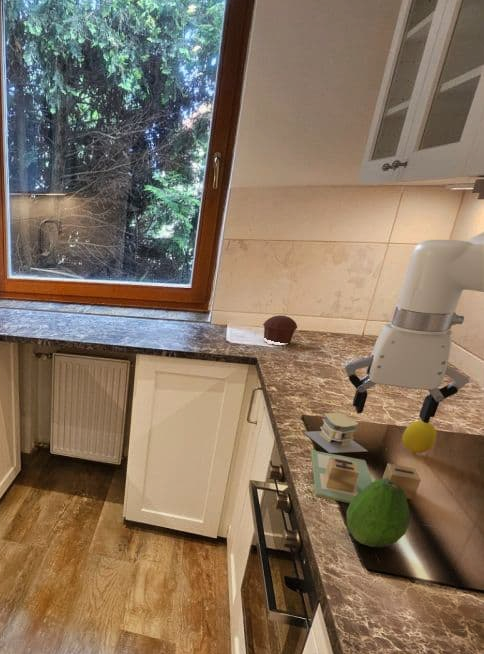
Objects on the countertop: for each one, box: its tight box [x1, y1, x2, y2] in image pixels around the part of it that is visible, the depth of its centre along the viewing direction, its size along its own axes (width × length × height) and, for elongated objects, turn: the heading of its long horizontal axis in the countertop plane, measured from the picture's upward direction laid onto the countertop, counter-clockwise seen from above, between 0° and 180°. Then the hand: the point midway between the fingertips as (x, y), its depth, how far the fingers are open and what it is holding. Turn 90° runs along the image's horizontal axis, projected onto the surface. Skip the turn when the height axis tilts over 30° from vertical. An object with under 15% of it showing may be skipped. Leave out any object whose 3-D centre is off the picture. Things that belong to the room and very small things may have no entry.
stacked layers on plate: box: [302, 412, 368, 454], centre depth 107 cm, size 10×9×6 cm
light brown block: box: [324, 457, 359, 493], centre depth 90 cm, size 4×4×5 cm
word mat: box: [310, 449, 373, 504], centre depth 94 cm, size 10×18×1 cm, turn 154°
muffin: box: [262, 315, 298, 344], centre depth 176 cm, size 12×11×10 cm
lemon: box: [401, 420, 438, 455], centre depth 101 cm, size 6×6×8 cm
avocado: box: [346, 478, 411, 548], centre depth 74 cm, size 8×8×12 cm
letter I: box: [381, 463, 422, 500], centre depth 89 cm, size 4×4×4 cm
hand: (390, 414), depth 84 cm, fingers open, 9 cm apart
